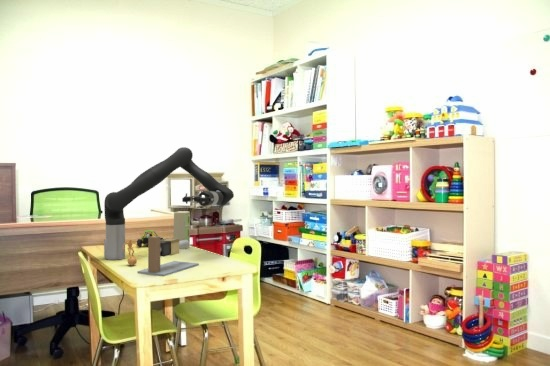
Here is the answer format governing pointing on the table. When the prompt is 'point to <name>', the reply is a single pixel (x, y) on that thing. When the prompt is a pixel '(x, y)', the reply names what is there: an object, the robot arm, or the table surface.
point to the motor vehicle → (146, 238)
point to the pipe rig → (154, 259)
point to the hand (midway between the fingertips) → (190, 200)
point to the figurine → (132, 260)
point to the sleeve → (173, 245)
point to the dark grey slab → (165, 248)
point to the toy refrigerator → (182, 226)
